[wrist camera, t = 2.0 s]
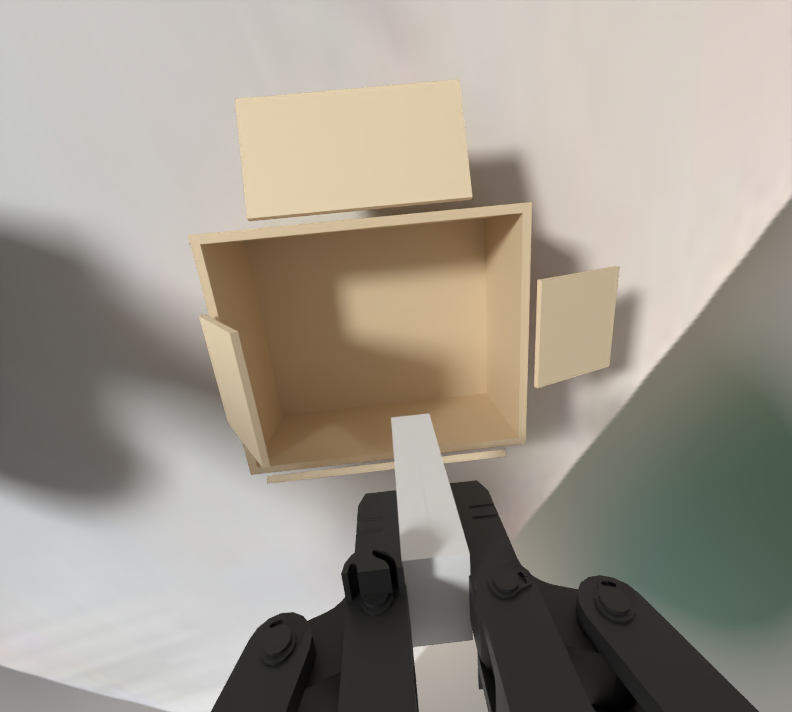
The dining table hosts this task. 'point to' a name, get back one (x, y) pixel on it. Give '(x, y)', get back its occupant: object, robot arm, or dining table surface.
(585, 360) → the flap
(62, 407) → the dining table surface
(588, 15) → the dining table surface
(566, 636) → the robot arm
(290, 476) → the flap
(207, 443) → the dining table surface
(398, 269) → the carton
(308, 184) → the flap
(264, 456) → the flap
